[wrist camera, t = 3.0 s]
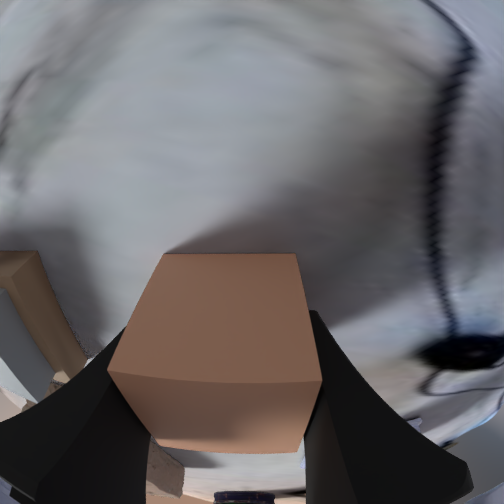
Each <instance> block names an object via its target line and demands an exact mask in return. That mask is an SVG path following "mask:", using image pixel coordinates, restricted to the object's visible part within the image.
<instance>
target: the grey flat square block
mask: <svg viewBox="0 0 504 504" xmlns="http://www.w3.org/2000/svg"><path fill="white" fill-rule="evenodd" d="M55 374H56V373H55V371H54V370H53V369H52V367H51V366H50V364H49V363H48V362H47V360H46V359H45V357H44V356H43V354H42V353H41V351H40V350H39V348H38V346H37V345H36V343H35V342H34V340H33V338H32V337H31V335H30V333H29V332H28V330H27V328H26V327H25V325H24V323H23V321H22V320H21V318H20V316H19V314H18V312H17V310H16V308H15V306H14V305H13V303H12V301H11V299H10V297H9V294H8V292H7V290H6V289H4V288H0V386H1V387H3V388H5V389H7V390H9V391H11V392H13V393H15V394H17V395H19V396H21V397H23V398H25V399H28V400H30V401H32V402H34V403H39V402H40V401H42V400H43V398H44V396H45V394H46V392H47V390H48V388H49V386H50V383H51V381H52V379H53V377H54V375H55Z"/></svg>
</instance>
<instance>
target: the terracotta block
mask: <svg viewBox="0 0 504 504" xmlns="http://www.w3.org/2000/svg"><path fill="white" fill-rule="evenodd" d="M107 371H108V372H109V374H110V376H111V377H112V379H113V381H114V382H115V384H116V385H117V387H118V389H119V390H120V392H121V393H122V395H123V396H124V398H125V399H126V401H127V402H128V404H129V405H130V407H131V408H132V409H133V411H134V412H135V414H136V415H137V416H138V418H139V419H140V421H141V422H142V423H143V425H144V426H145V427H146V429H147V430H148V431H149V432H150V434H151V435H152V436H153V438H154V439H155V440H156V441H157V443H158V444H159V445H160V446H165V447H171V448H178V449H186V450H195V451H205V452H218V453H240V454H272V453H293V452H297V451H298V448H299V446H300V443H301V440H302V438H303V435H304V433H305V430H306V427H307V424H308V422H309V419H310V416H311V413H312V410H313V407H314V405H315V402H316V399H317V396H318V393H319V389H320V386H321V383H322V376H321V370H320V365H319V360H318V355H317V350H316V345H315V340H314V335H313V330H312V325H311V320H310V316H309V311H308V306H307V302H306V297H305V293H304V288H303V284H302V279H301V275H300V271H299V266H298V262H297V258H296V254H295V253H268V254H163V255H162V257H161V259H160V261H159V263H158V265H157V267H156V268H155V270H154V272H153V274H152V276H151V278H150V280H149V282H148V284H147V286H146V288H145V290H144V291H143V293H142V295H141V297H140V299H139V301H138V303H137V305H136V308H135V310H134V312H133V314H132V316H131V318H130V320H129V322H128V324H127V326H126V328H125V330H124V333H123V335H122V337H121V339H120V341H119V344H118V346H117V348H116V350H115V352H114V355H113V357H112V359H111V362H110V364H109V366H108V369H107Z"/></svg>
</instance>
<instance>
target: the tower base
mask: <svg viewBox="0 0 504 504" xmlns="http://www.w3.org/2000/svg"><path fill="white" fill-rule="evenodd" d="M0 288H4V289H6V290H7V292H8V294H9V297H10V299H11V301H12V303H13V305H14V306H15V308H16V310H17V312H18V314H19V316H20V318H21V320H22V321H23V323H24V325H25V327H26V328H27V330H28V332H29V333H30V335H31V337H32V338H33V340H34V342H35V343H36V345H37V346H38V348H39V350H40V351H41V353H42V354H43V356H44V357H45V359H46V360H47V362H48V363H49V364H50V366H51V367H52V369H53V370H54V371H55V373H56V374H55V375H54V377H53V380H56V381H59V382H63V383H67V382H68V381H69V380H71V379H72V378H73V377H74V376H75V375H77V374H78V373H79V372H80V371H81V370H82V369H83V368H84V366H85V364H86V362H87V360H88V359H87V357H86V356H85V354H84V352H83V350H82V349H81V347H80V345H79V343H78V341H77V340H76V338H75V336H74V334H73V332H72V330H71V328H70V326H69V324H68V322H67V320H66V318H65V316H64V314H63V312H62V310H61V308H60V306H59V303H58V301H57V299H56V297H55V294H54V292H53V290H52V287H51V285H50V283H49V280H48V278H47V275H46V273H45V270H44V267H43V265H42V262H41V259H40V256H39V254H38V251H0Z"/></svg>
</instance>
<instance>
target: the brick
mask: <svg viewBox="0 0 504 504" xmlns="http://www.w3.org/2000/svg"><path fill="white" fill-rule="evenodd" d="M60 387H62V386H61V385H60V386H59V385H56V384H53V383H50V386H49V388H48V390H47V392H46V394H45V396H44V398H43V399H45V398H46V397H48V396H49V395H50V394H52V393H53V392H55V391H56V390H58V389H59V388H60ZM26 401H27V404H25V406H24V407H23V408H22V411H21V412H23V411H25V410H27V409H29V408H30V407H32V406H34V405H36V404H37V403H34V402H32V401H30V400H28V399H26ZM184 472H185V469H184V467H183V466H182V465H181V464H180V463H179V462H178V461H177V460H175V459H173V458H171V456H170V455H168V454H166V453H165V451H163V450H162V449H161V448H159V447H158V446H157V445H156V444H154V443H153V442H151V440H150V445H149V453H148V463H147V475H146V494H149V495H158V496H161V497H170V498H180V497H181V495H182V487H183V484H184V482H183V481H184V475H185V473H184Z"/></svg>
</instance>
